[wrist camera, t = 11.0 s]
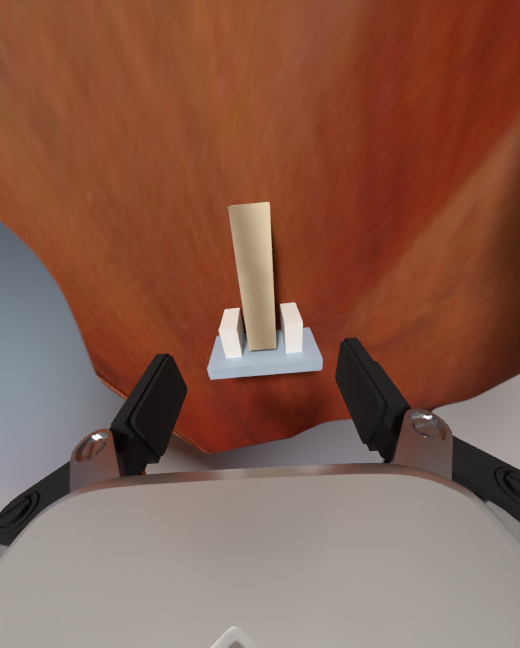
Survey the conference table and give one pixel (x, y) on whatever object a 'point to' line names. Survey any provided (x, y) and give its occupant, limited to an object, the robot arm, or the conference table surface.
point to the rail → (255, 271)
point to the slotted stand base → (289, 356)
